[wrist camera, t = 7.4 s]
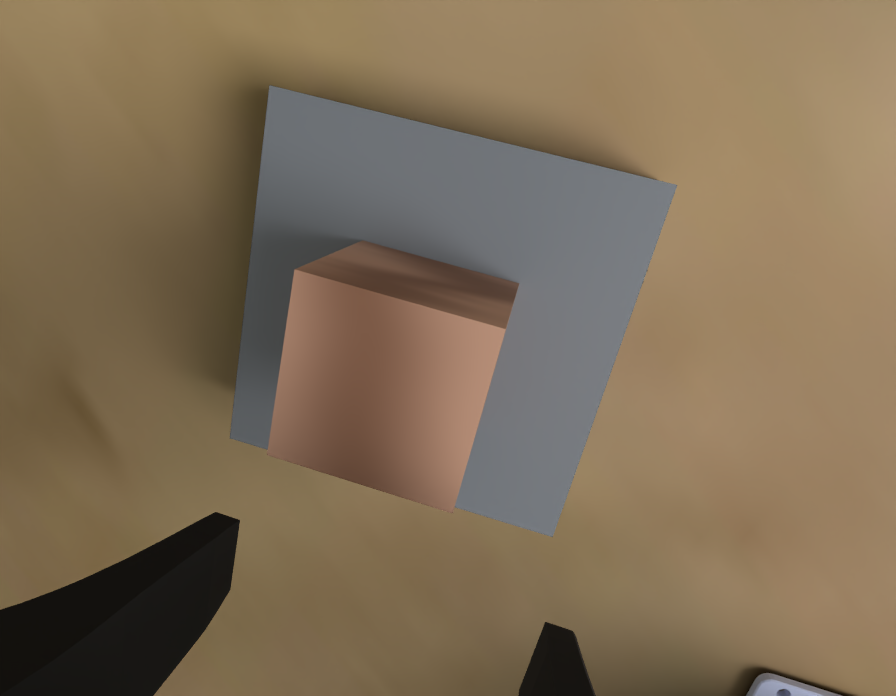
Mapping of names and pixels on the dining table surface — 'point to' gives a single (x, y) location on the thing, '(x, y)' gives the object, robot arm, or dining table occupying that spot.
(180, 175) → the dining table surface
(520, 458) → the slate block
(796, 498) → the dining table surface
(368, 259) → the terracotta cube
